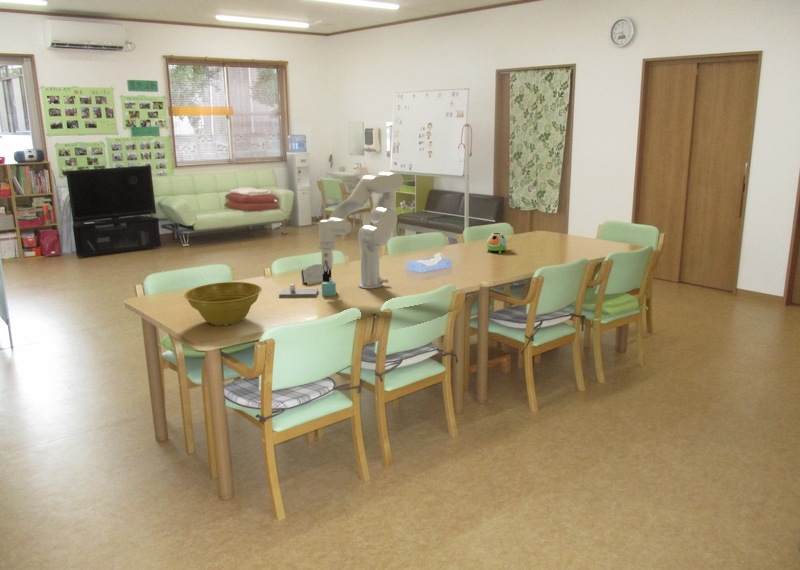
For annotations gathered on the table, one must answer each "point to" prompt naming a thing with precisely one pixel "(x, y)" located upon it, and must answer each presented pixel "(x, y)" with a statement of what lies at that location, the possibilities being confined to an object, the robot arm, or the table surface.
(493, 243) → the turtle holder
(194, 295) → the planter bowl
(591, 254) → the table surface
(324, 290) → the housing
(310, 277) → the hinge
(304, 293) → the base plate
